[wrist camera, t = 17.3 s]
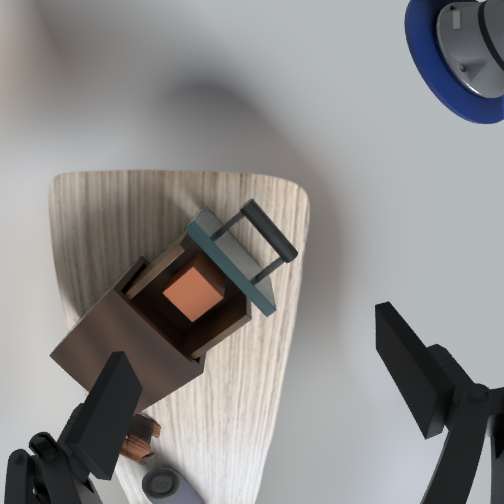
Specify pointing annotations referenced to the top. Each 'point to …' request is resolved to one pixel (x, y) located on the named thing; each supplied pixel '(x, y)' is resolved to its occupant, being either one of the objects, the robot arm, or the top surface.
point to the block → (195, 287)
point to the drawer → (226, 264)
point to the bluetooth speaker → (168, 488)
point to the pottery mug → (140, 439)
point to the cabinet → (125, 345)
